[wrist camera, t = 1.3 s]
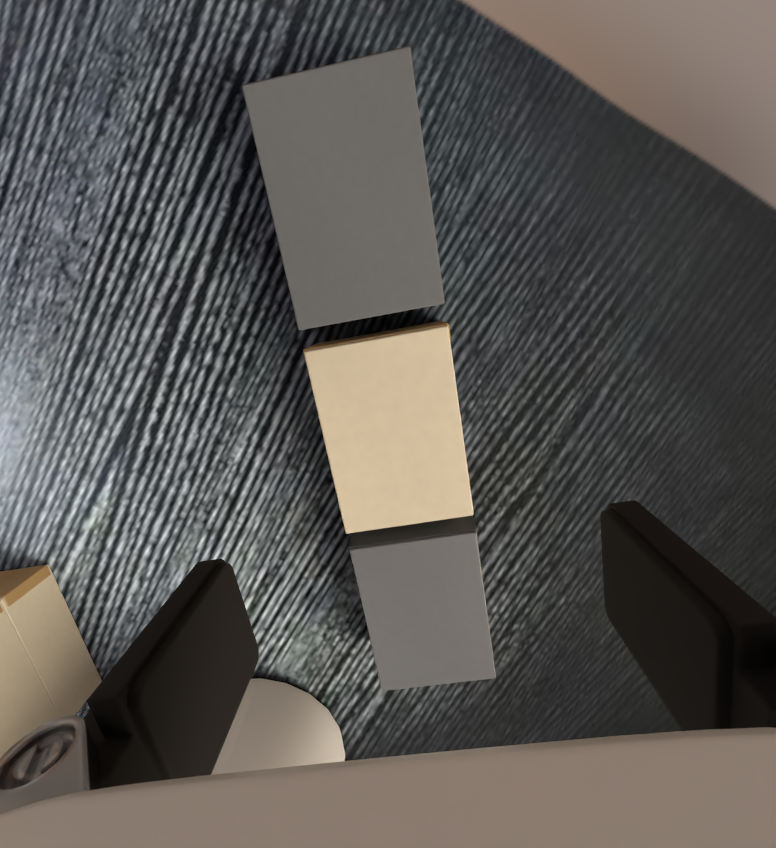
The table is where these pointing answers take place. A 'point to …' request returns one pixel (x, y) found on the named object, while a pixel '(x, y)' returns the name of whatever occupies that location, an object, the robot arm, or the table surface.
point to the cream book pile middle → (19, 689)
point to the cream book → (392, 426)
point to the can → (279, 730)
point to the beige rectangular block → (49, 636)
